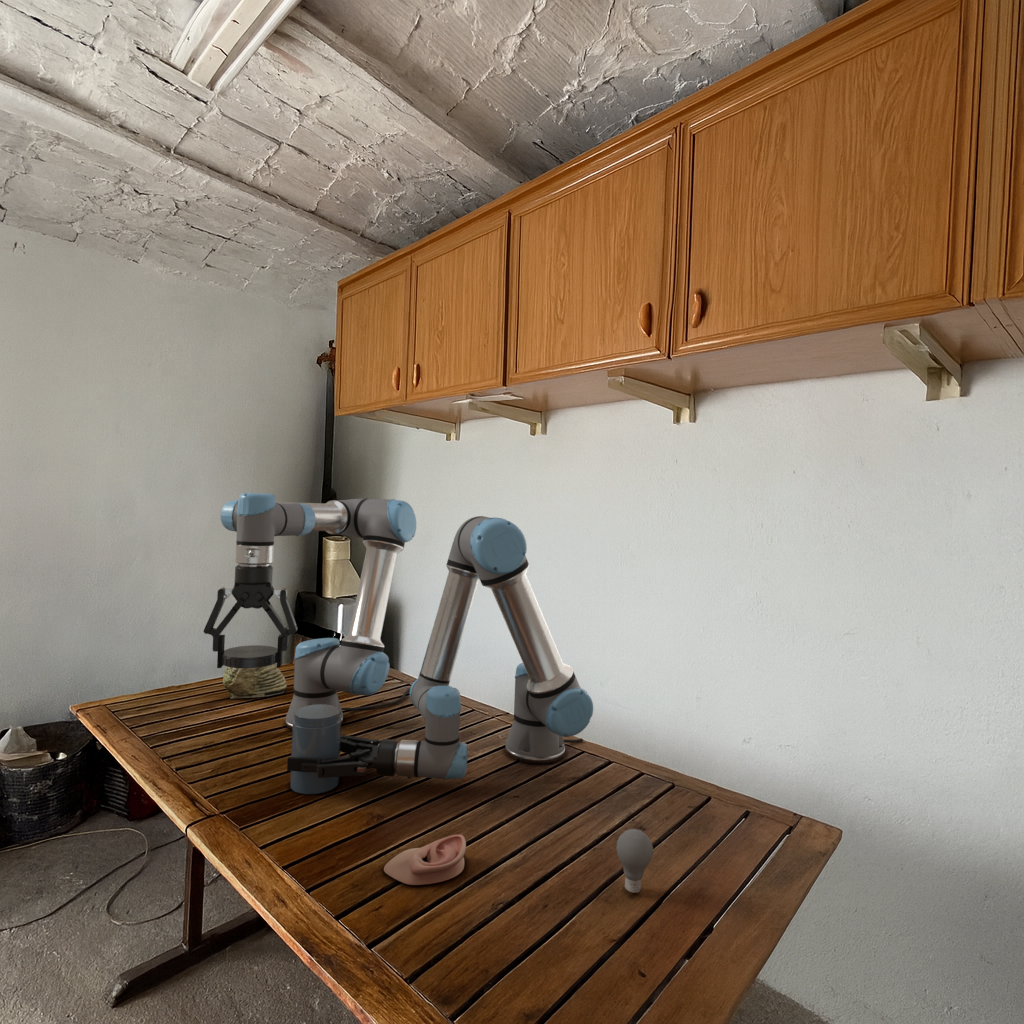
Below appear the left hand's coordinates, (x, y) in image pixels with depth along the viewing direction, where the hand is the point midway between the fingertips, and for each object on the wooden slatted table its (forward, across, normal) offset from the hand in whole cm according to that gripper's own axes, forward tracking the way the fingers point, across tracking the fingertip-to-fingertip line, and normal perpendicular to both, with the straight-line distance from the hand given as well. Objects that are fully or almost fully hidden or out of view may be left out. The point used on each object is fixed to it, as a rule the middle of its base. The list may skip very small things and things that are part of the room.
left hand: (250, 666), depth 136 cm
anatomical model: (+26, +35, -36) cm, 57 cm away
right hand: (+20, +10, +1) cm, 22 cm away
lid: (-3, 0, 0) cm, 3 cm away
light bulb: (+26, +69, -48) cm, 88 cm away
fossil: (+26, -8, +65) cm, 71 cm away
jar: (+26, +14, 0) cm, 30 cm away
